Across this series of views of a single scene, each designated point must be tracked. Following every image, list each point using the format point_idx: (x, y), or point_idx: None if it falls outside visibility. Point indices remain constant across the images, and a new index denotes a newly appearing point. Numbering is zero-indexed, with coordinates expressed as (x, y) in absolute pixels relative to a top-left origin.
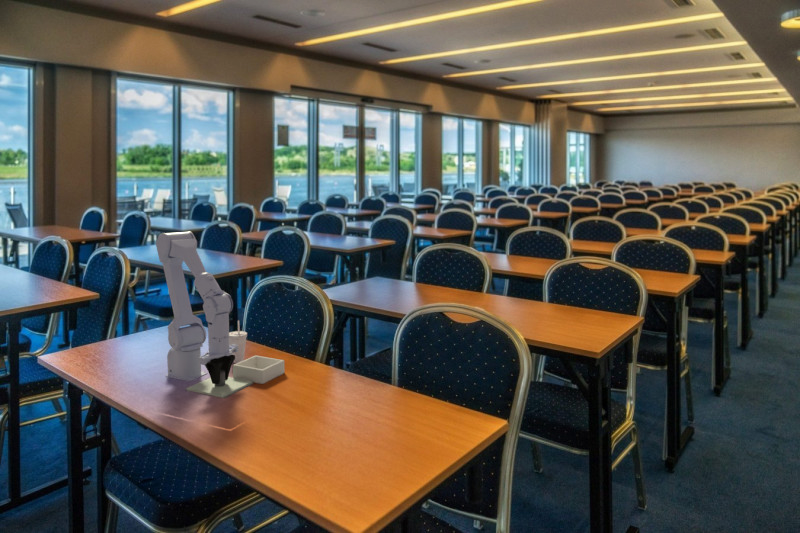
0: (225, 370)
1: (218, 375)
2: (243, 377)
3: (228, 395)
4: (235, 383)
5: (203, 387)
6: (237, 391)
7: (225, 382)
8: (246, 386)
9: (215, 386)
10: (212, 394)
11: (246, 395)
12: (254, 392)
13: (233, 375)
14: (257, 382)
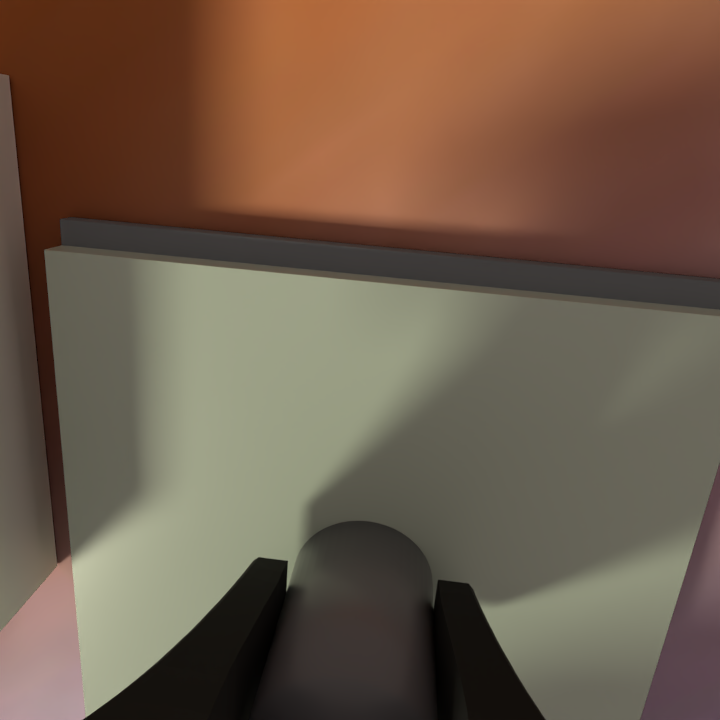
0: (238, 697)
1: (508, 682)
2: (8, 444)
3: (630, 290)
4: (234, 428)
5: None
6: (439, 258)
7: None
8: (208, 252)
9: None
10: (703, 492)
11: (483, 61)
12: (321, 14)
13: (25, 593)
14: (2, 185)
